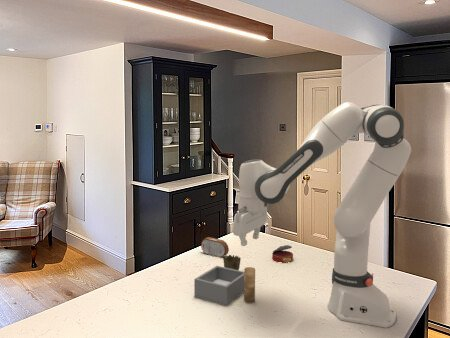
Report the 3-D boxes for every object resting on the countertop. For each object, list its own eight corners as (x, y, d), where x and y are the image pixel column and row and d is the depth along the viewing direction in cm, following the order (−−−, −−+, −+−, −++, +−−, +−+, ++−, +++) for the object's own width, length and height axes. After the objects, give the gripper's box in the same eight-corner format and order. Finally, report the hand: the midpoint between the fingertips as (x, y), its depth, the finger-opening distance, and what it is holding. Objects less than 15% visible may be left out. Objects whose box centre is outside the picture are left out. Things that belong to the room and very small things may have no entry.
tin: (229, 257, 190) (229, 240, 189) (225, 259, 187) (225, 242, 186) (203, 251, 197) (203, 235, 196) (200, 253, 195) (200, 237, 194)
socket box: (247, 289, 153) (247, 272, 152) (226, 305, 139) (226, 287, 138) (216, 282, 160) (216, 265, 159) (194, 296, 146) (194, 279, 145)
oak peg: (256, 299, 144) (257, 268, 143) (251, 303, 141) (252, 272, 139) (247, 297, 146) (247, 266, 145) (242, 301, 143) (242, 269, 141)
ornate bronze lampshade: (233, 280, 162) (233, 262, 161) (219, 276, 166) (219, 258, 165) (243, 275, 167) (244, 257, 167) (230, 271, 172) (230, 253, 171)
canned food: (275, 271, 184) (265, 253, 183) (278, 262, 193) (269, 244, 193) (296, 263, 180) (286, 244, 179) (299, 254, 189) (289, 236, 189)
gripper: (245, 211, 129) (244, 251, 131) (270, 200, 146) (269, 236, 148) (228, 208, 132) (228, 248, 134) (255, 198, 150) (254, 233, 151)
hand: (249, 242), depth 141 cm, fingers open, 8 cm apart
